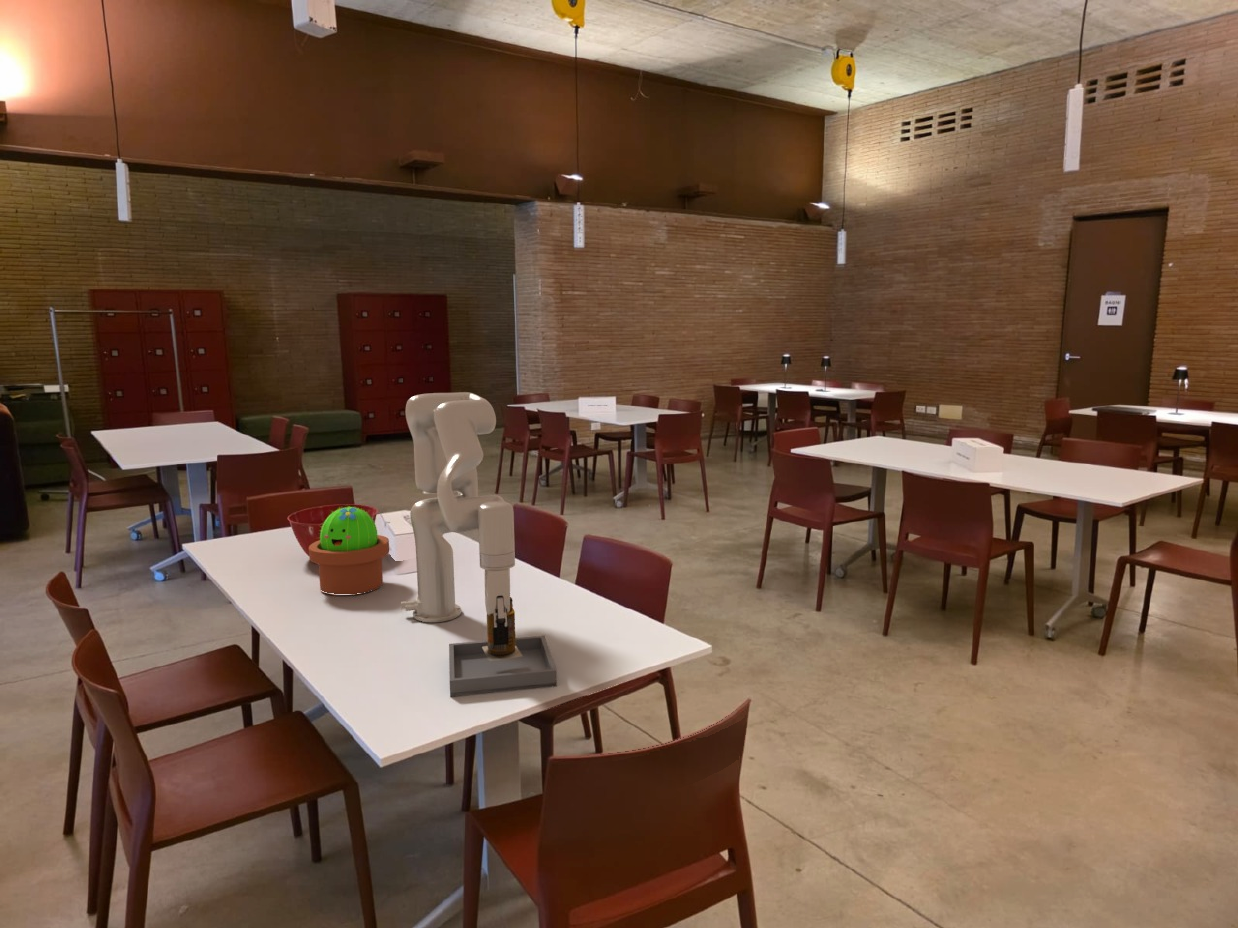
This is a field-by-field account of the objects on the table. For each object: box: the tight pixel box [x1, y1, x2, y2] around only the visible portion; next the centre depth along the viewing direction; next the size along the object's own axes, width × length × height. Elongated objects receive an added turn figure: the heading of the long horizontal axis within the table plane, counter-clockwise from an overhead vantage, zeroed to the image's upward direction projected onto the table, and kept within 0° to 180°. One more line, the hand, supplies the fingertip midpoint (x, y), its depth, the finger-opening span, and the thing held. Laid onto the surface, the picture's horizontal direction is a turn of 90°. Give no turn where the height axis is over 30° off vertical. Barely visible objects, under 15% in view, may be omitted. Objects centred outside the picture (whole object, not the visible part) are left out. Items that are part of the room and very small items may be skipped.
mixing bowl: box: [287, 503, 379, 557], centre depth 259 cm, size 28×28×16 cm
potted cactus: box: [308, 506, 390, 594], centre depth 227 cm, size 22×22×25 cm
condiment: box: [482, 596, 522, 661], centre depth 167 cm, size 7×8×12 cm
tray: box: [448, 635, 558, 698], centre depth 169 cm, size 22×20×4 cm
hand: (499, 637), depth 168 cm, fingers closed on condiment, 6 cm apart
